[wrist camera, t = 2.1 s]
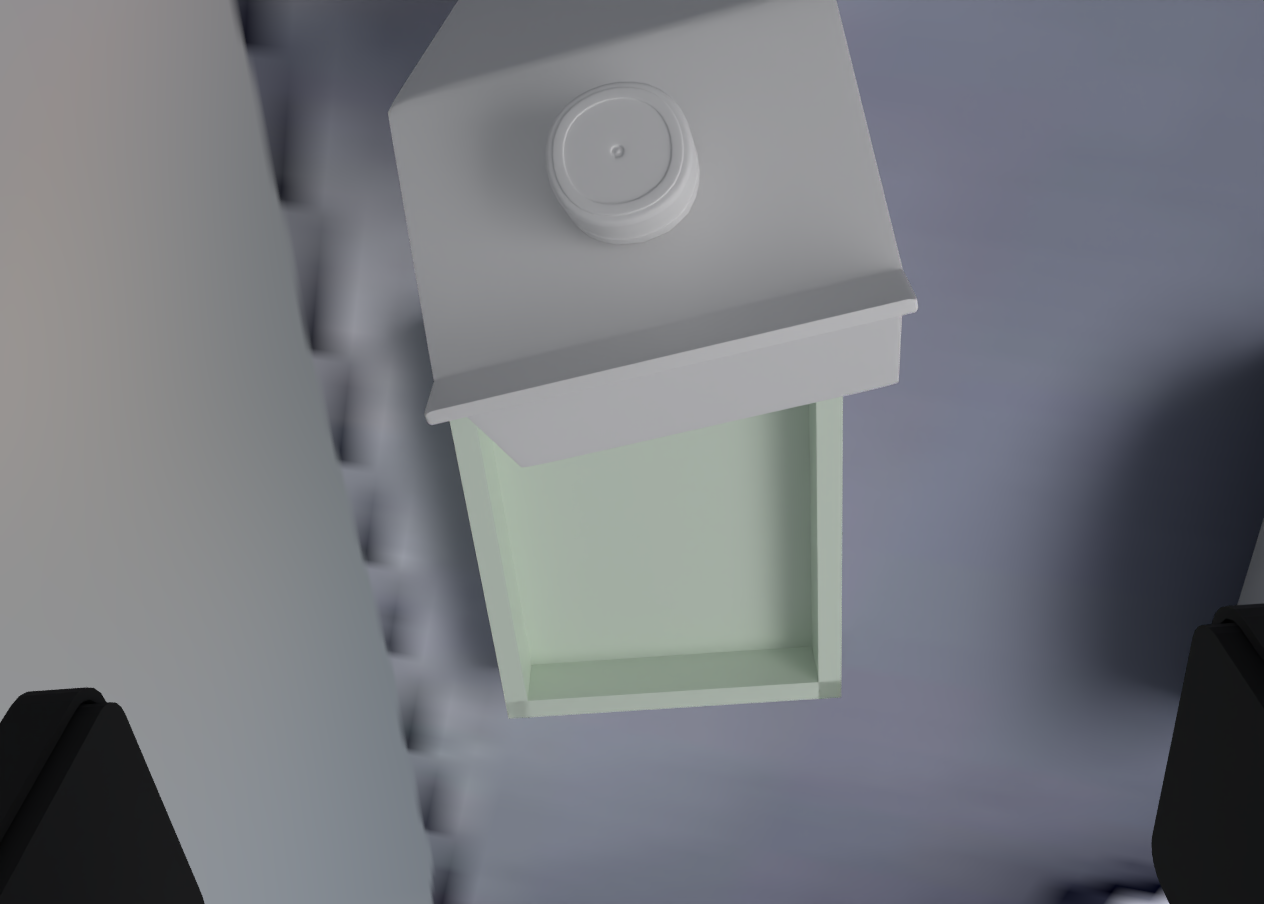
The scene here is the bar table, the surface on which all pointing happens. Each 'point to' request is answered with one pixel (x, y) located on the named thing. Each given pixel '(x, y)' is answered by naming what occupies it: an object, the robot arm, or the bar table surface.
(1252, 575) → the grey piece
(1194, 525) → the bar table surface
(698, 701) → the tray
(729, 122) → the milk carton
